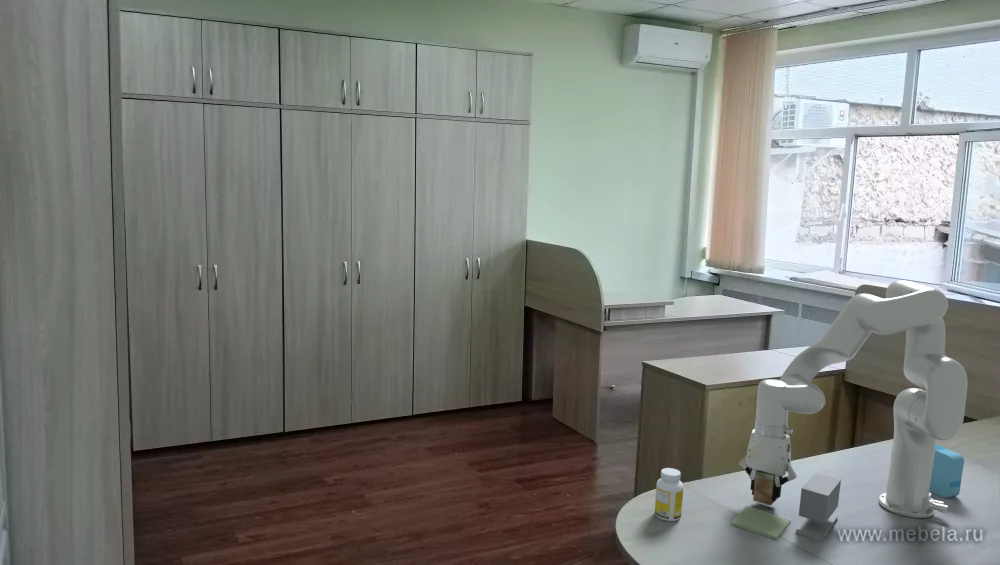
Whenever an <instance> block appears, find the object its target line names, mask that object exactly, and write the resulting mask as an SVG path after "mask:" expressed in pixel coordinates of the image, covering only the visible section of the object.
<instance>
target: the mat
mask: <svg viewBox="0 0 1000 565" xmlns="http://www.w3.org/2000/svg"><path fill="white" fill-rule="evenodd" d="M791 522H792V520H791V519H788V518H785V517H783V516H782V517H781V516H778V515H776V514H772V513H770V512H767V511H763V510H759V509H756V508H753V507H751V506H750V507H749V506H745V507H744V508H743V509H742V510H741V511H740V512H739V513H738V514H737V515H736V516H735V517H734V518H733V519H732V520H731V521H730V525H732V526H734V527H738V528H741V529H744V530H747V531H750V532H753V533H755V532H756V534H759V535H761V534H762V536H764V535H765V537H768V538H771V539H774V540H777V539H779V537H781V535H782V533H783V532H784V531H785V530H786V529H787V528H788V526H789V525H790V524H791ZM785 528H786V529H785Z"/></svg>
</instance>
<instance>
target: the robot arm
mask: <svg viewBox="0 0 1000 565" xmlns="http://www.w3.org/2000/svg"><path fill="white" fill-rule="evenodd" d="M948 308H949V301H948V299H947V297H946V295H945V294H944V293H943V292H942V291H940V290H939V289H936V288H934V287H932V286H927V285H923V284H920V283H917V282H914V281H910V280H902V279H901V280H900V279H899V280H896V281H893V282H891V283H890V284H889V285H888V286H887V288H886V290H885V298H883V297H880V296H877V295H873V294H869V293H858V294H855V295H854V296H852V297H850V299H849V300H848V301H847V303H846V304H845V306H844V307H843V309H841V311H840V313H839V314H838V316H837V317H836V318H835V320H834V321H833V322H832V323H831V324H830V327H829V328H828V329H827V330H826V332H824V333H825V334H824V335H823V336H822V337H821V338H820V340H818V341H817V342H815V343H813V344H812V345H810V346H809V347H806V349H804V350H803V351H801V352H800V353H799V354H797V355H796V357H794V359H793V360H792V361H791V362H790V363H789V365H788V366H787V368H786V369H785V371H784V372H783V373H782V375H781V377H780V378H779V379H772V378H771V379H770V378H769V379H768V378H767V379H763V380H761V381H760V382H759V383H758V387H757V398H756V399H757V400H756V412H755V424H754V428H753V429H752V430H751V434H750V438H749V442H748V445H747V451H746V455H745V456H744V457H743V458H742V459H741V460H740V461H739V462H738V464H739V466H740V467H741V468H742V469H744V471H745V472H746V474H747V475H748V476H749V479H750V490H751V495H752V496H754V483H755V471H756V470H758V471H762V472H765V473H769V474H773V475H774V479H775V485H774V487H773V496H772V500H773V501H775V502H776V501H777V500H778V499H780V498H781V494H782V486H783V485H785V484H786V483H789V482H791V481H793V480H795V479H797V477H798V476H797V474H796V472H795V470H794V469H793V466H792V463H791V462H792V448H791V447H792V446H791V439H790V435H792V434H793V430H794V429H793V428H790V427H789V424H788V418H789V412H791V413H792V412H793V413H798V414H805V415H812V414H816V413H818V412H820V411H821V410H822V409H823V408H824V406H825V405H826V397H825V393H824V392H823V390H821V388H819V387H818V386H817V385H815V384H813V383H812V381H813V379H814V378H815V377H816V376H817V375H818V373H820V372H821V371H822V370H823V369H824V368H827V367H828V366H831V365H836V364H840V363H844V362H848V361H850V360H851V361H852V360H853V358H854V357H855V356H856V355H857V353H858V352H859V350H860V349H861V347H863V345H864V344H865V342H866V341H867V339H868V338H869V337H870V335H871V334H872V333H874V334H876V335H892V334H897V333H900V332H905V331H906V332H905V333H906V338H905V339H906V340H905V347H904V350H905V351H904V360H903V375H904V377H905V378H906V379H907V380H908V382H910V383H912V384H913V385H916V386H918V387H920V388H915V387H910V388H906V389H904V390H902V391H901V392H899V393H898V394H897V395H896V398H895V399H894V403H893V425H894V426H893V428H894V429H893V430H894V431H893V441H892V447H891V448H892V449H891V455H890V463H889V471H888V476H887V477H888V478H887V485H886V492H884V493H882V494H881V493H880V495H879V496H878V503H879V504H880V505H881V506H882V507H883V508H885V509H886V510H887V511H889V512H892V513H894V514H897V515H900V516H904V517H907V518H914V519H924V518H929V517H933V515H934V512H935V511H938V512H940V513H944V514H947V513H948V510H949V506H948V505H946V504H944V501H941V500H936V499H934V498H932V492H930V491H929V489H930V482H931V475H932V468H933V461H934V455H935V448H936V441H947V440H950V439H952V438H955V437H956V436H957V435H958V434H959V432H960V431H961V429H962V427H963V424H964V417H965V411H966V401H967V395H968V383H969V382H968V375H967V372H966V369H965V368H964V366H963V364H961V363H960V362H959V361H957V360H956V359H954V358H951V357H948V356H947V355H946V333H947V332H946V325H945V320H944V318H943V317H944V316H945V315H946V314H947V311H948ZM786 473H787V474H788V475H786Z"/></svg>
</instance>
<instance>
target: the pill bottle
mask: <svg viewBox="0 0 1000 565" xmlns="http://www.w3.org/2000/svg"><path fill="white" fill-rule="evenodd" d="M681 474H682V473H681V471H680V470H679V469H675V468H671V467H665V468H662V469H661V471H660V477H661V478H659V479H657V481H656V485H655V486H656V488H655V500H654V515H655V516H656V517H657V518H659V520H663V521H667V522H675V521H678V520H680V519H681V517H682V514H683V513H682V510H683V498H684V497H683V496H684V484H683V482H682V481H681V480H680V479H681V477H682V476H681Z"/></svg>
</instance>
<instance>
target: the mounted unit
mask: <svg viewBox="0 0 1000 565" xmlns="http://www.w3.org/2000/svg"><path fill="white" fill-rule="evenodd" d="M841 484H842V479H840V478H837V477H833V476H829V475H825V474H823V473H818V472H815V473H813V475H812V476H811V477H809V479H808V480H807V482H805V483H804V485H803V486H802V487H801V491H800V500H799V510H798V516H799V517H802V518H803V520H802V521H801V522H800V524H798V526H797V527H796V528H795V533H796V534H798V535H801V536H805V537H808V538H811V539H813V540H817V541H820V542H822V541H823V540H824V539H825V538H826V536H827V535H828V533H829V532H830V531H829V530H831V529H832V528H833V526H834V525H835V524H836V522H837V521H838V515H835V514H833V513H835V511H836V509H837V508H838V507H839V500H840V491H841ZM836 520H837V521H836ZM834 523H835V524H834ZM831 527H832V528H831Z"/></svg>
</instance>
